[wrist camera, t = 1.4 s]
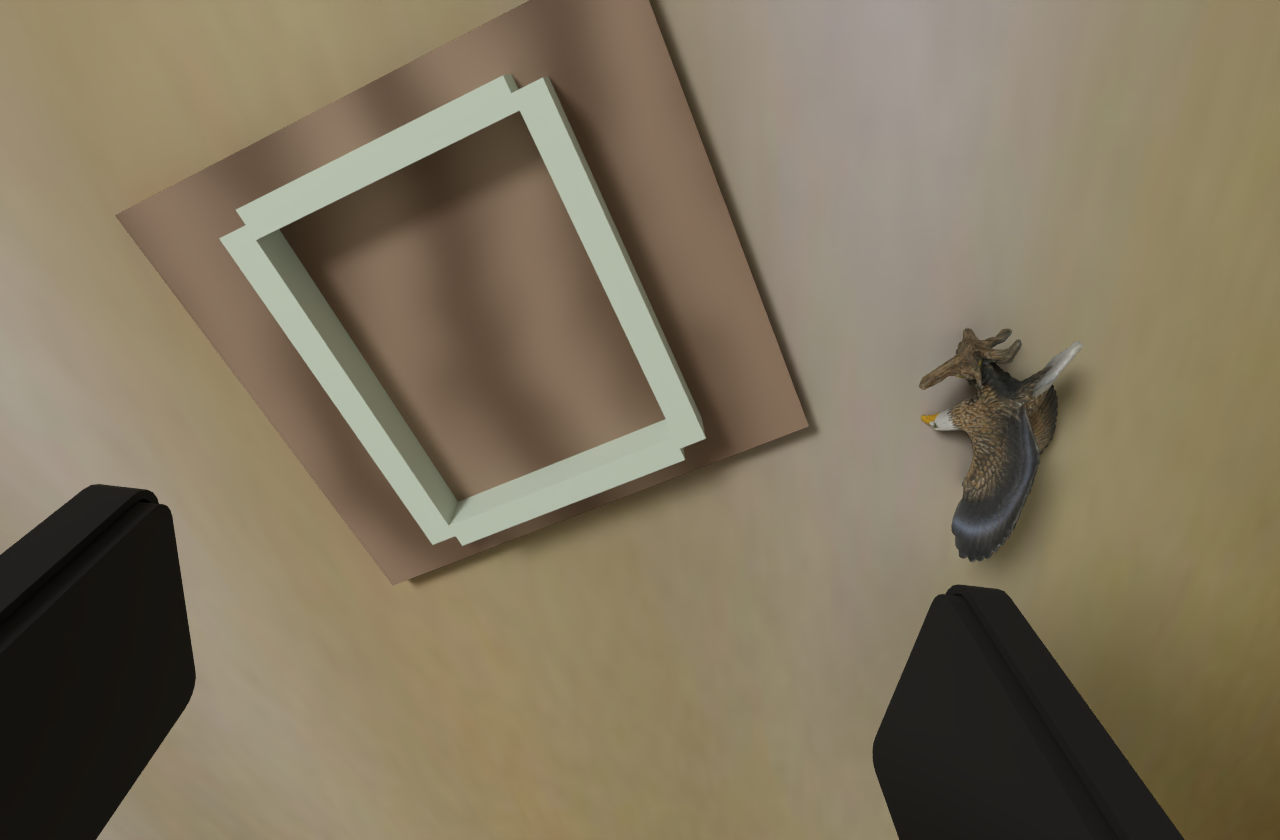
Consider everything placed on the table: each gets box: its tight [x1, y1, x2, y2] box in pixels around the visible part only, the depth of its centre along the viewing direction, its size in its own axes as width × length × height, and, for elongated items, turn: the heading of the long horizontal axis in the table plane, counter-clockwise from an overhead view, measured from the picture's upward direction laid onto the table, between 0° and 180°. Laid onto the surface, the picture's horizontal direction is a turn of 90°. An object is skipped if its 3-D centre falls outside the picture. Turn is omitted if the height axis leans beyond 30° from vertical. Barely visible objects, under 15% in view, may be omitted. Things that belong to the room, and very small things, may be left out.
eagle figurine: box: [919, 329, 1083, 562], centre depth 31 cm, size 8×7×9 cm
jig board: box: [115, 0, 809, 585], centre depth 30 cm, size 22×20×3 cm
